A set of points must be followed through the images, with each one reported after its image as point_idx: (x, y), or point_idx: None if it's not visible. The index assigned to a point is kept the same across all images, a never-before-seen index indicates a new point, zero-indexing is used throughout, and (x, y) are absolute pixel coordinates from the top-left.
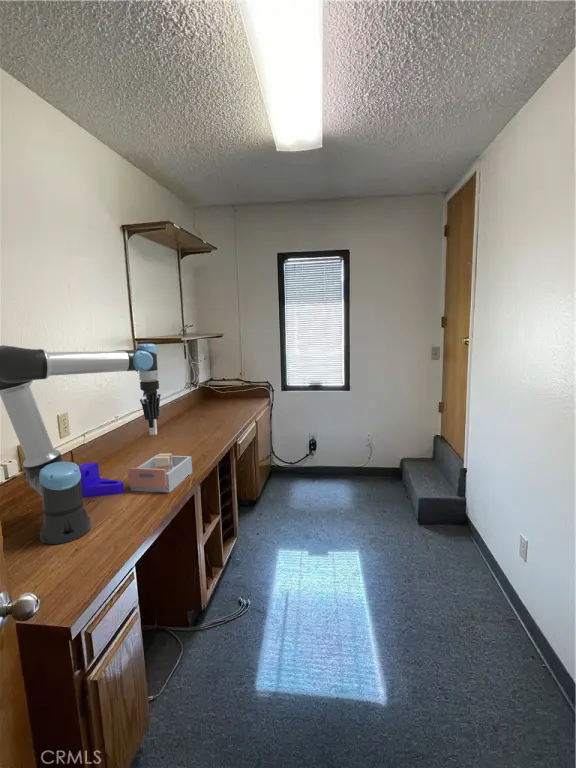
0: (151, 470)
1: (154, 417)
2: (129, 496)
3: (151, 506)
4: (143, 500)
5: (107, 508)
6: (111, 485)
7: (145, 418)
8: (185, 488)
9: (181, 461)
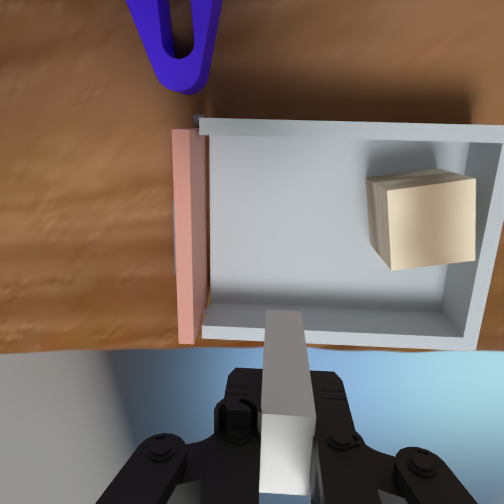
0: (178, 272)
1: (312, 502)
2: (155, 150)
3: (92, 285)
4: (131, 231)
5: (36, 122)
6: (144, 45)
7: (135, 460)
8: (260, 343)
9: (459, 288)
